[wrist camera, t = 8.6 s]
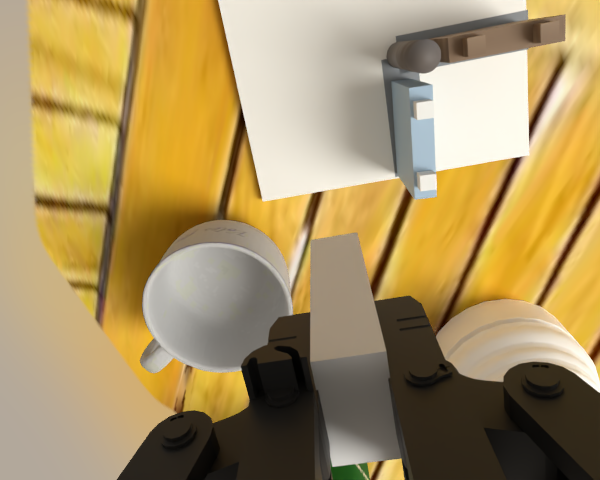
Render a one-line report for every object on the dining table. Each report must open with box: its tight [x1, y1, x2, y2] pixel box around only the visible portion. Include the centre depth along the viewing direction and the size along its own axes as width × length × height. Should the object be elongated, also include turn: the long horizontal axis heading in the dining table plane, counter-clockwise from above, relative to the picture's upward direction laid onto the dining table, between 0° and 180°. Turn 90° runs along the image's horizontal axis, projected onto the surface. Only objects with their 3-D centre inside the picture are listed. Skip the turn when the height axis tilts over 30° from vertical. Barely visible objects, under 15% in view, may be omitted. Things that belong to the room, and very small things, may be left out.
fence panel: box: [391, 78, 437, 199], centre depth 33 cm, size 1×7×8 cm, turn 8°
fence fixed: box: [387, 15, 565, 74], centre depth 31 cm, size 2×9×9 cm, turn 101°
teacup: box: [140, 220, 293, 373], centre depth 39 cm, size 14×11×8 cm
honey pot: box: [436, 299, 600, 393], centre depth 37 cm, size 13×13×18 cm
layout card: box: [218, 0, 529, 201], centre depth 36 cm, size 16×21×1 cm
